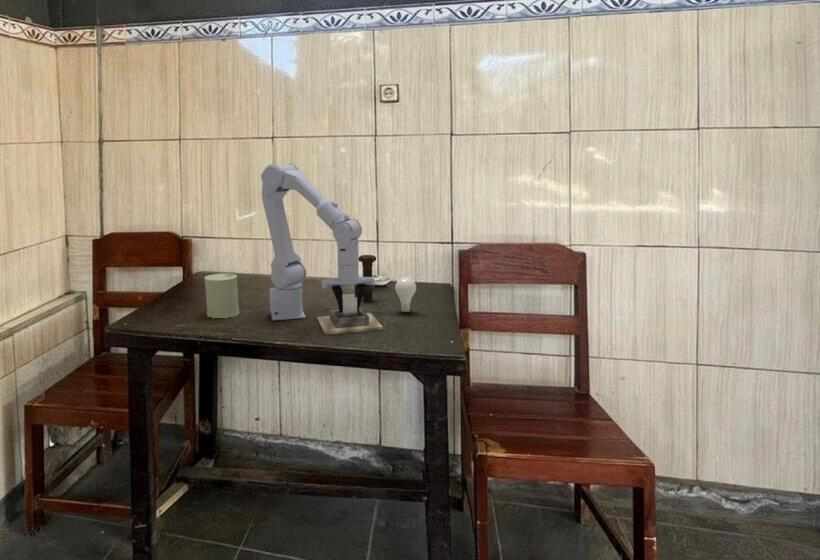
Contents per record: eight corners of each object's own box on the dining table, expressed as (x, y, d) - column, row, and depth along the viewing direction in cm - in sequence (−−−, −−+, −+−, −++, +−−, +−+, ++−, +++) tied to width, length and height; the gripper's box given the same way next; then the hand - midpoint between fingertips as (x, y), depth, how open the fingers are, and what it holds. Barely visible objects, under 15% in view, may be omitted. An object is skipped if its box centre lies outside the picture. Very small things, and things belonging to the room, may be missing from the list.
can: (245, 314, 161) (243, 275, 158) (216, 320, 154) (213, 280, 152) (229, 308, 167) (227, 270, 164) (201, 314, 160) (198, 275, 158)
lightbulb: (419, 311, 166) (419, 276, 164) (410, 316, 161) (410, 280, 158) (400, 308, 169) (401, 274, 166) (391, 313, 163) (391, 278, 161)
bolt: (372, 303, 174) (372, 258, 170) (357, 302, 175) (357, 257, 171) (377, 299, 179) (377, 254, 176) (362, 298, 180) (362, 254, 177)
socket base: (324, 334, 144) (324, 323, 143) (317, 319, 157) (316, 309, 156) (382, 329, 148) (382, 318, 148) (370, 315, 161) (370, 305, 161)
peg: (343, 319, 150) (342, 298, 148) (340, 315, 154) (340, 294, 152) (357, 317, 151) (357, 297, 150) (354, 314, 155) (353, 293, 153)
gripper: (324, 267, 143) (325, 316, 146) (377, 265, 147) (377, 312, 150) (320, 262, 149) (321, 309, 152) (371, 260, 153) (371, 306, 157)
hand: (348, 310), depth 152 cm, fingers closed on peg, 4 cm apart
